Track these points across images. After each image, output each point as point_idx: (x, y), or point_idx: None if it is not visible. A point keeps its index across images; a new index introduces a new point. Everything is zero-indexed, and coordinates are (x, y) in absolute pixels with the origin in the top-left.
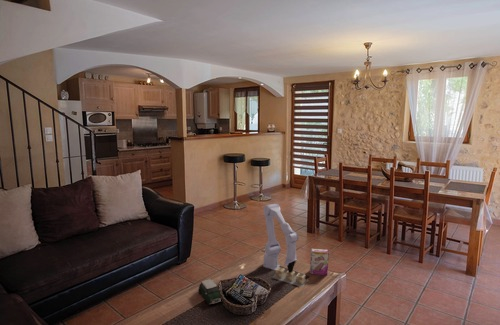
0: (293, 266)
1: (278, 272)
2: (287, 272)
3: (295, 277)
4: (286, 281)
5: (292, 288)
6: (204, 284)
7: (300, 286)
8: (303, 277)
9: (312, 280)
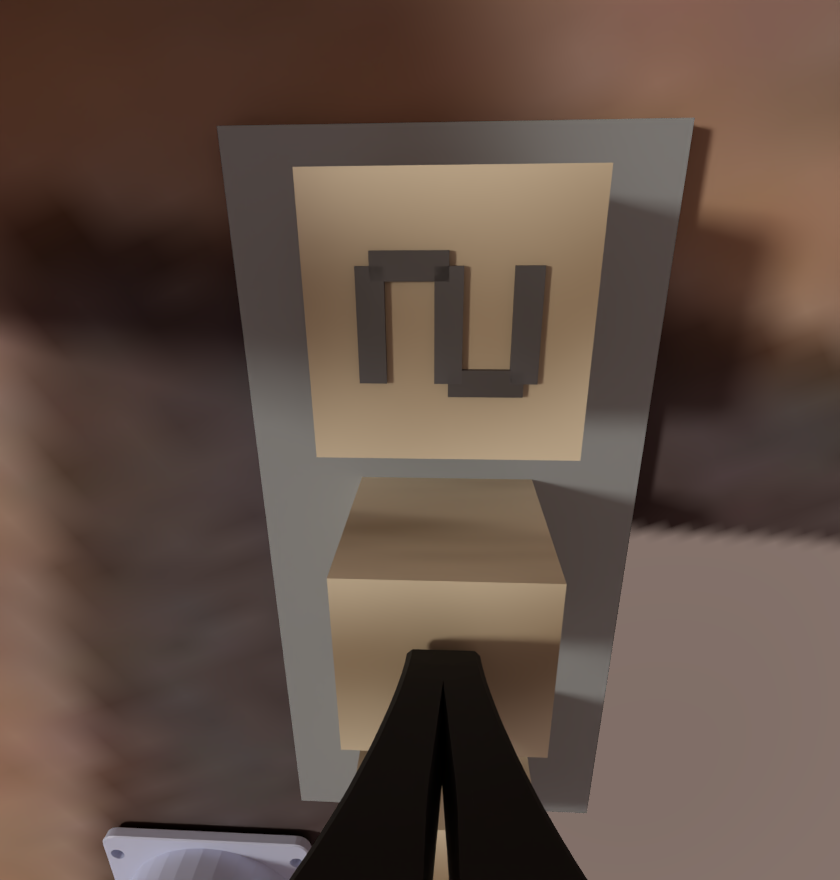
0: (382, 816)
1: None
2: (505, 727)
3: (322, 474)
4: (596, 573)
5: (793, 362)
6: None
7: (680, 200)
8: (533, 165)
9: (137, 26)
